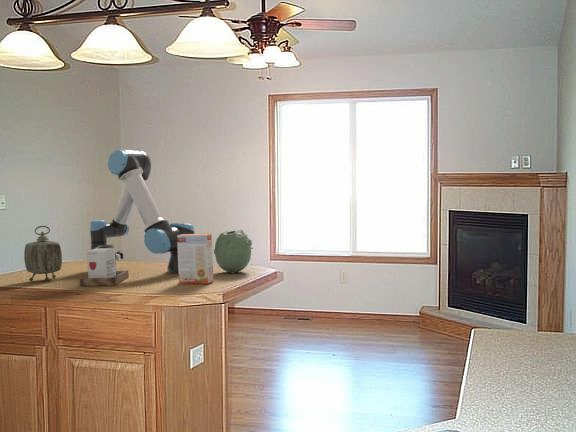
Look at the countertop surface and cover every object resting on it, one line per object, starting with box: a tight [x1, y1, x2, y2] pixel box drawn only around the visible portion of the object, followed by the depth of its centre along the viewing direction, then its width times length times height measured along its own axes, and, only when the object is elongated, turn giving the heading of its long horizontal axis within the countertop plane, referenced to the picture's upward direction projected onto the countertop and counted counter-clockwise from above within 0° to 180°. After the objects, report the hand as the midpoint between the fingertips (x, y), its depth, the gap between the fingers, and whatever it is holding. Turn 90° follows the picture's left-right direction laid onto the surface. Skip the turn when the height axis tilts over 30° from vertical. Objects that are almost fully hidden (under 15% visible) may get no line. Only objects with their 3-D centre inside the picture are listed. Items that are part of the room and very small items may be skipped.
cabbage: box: [213, 229, 254, 274], centre depth 313 cm, size 16×19×20 cm
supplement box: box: [86, 248, 117, 278], centre depth 293 cm, size 9×9×15 cm
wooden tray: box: [79, 244, 130, 287], centre depth 298 cm, size 15×23×15 cm, turn 178°
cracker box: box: [177, 233, 215, 285], centre depth 287 cm, size 14×6×21 cm, turn 70°
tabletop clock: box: [23, 225, 63, 282], centre depth 306 cm, size 14×9×25 cm, turn 133°
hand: (113, 258), depth 302 cm, fingers open, 5 cm apart
